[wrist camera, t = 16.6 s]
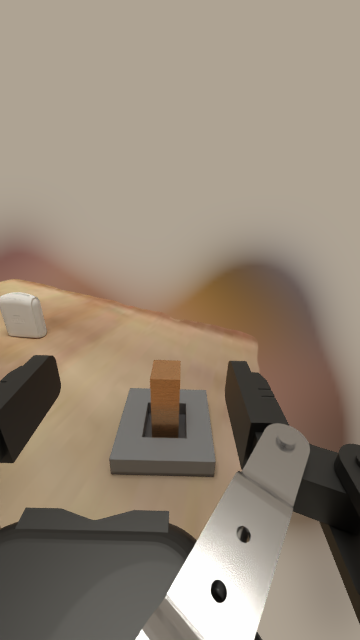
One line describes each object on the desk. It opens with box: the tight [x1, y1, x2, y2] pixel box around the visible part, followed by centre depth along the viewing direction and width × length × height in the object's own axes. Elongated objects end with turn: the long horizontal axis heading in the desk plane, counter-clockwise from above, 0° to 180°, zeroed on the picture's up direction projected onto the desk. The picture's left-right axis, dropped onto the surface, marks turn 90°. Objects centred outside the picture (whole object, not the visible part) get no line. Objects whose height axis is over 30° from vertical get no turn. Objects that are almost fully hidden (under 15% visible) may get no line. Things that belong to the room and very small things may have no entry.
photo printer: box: [0, 292, 47, 338], centre depth 66 cm, size 10×4×12 cm, turn 83°
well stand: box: [109, 388, 216, 477], centre depth 39 cm, size 14×14×3 cm
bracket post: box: [150, 360, 180, 438], centre depth 37 cm, size 4×4×12 cm
